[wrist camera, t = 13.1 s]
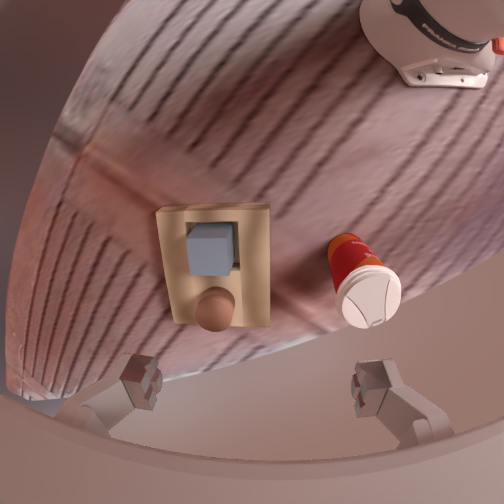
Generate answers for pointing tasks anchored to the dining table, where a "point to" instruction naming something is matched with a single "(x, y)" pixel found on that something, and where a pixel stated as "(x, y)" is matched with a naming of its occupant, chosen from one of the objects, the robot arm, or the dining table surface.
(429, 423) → the robot arm
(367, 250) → the paper cup
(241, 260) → the assembly board
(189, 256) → the slate block
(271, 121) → the dining table surface
